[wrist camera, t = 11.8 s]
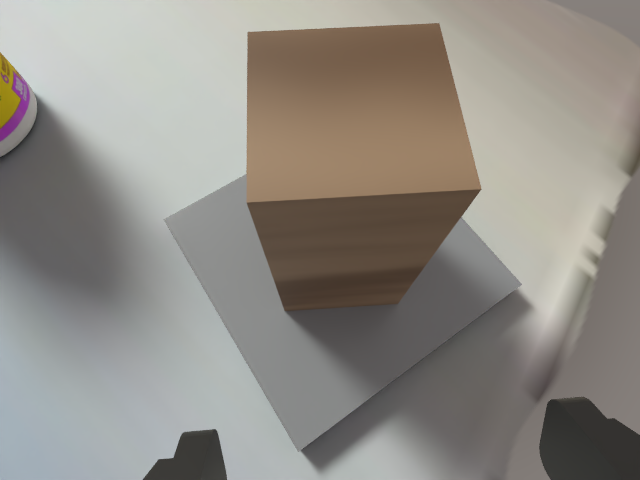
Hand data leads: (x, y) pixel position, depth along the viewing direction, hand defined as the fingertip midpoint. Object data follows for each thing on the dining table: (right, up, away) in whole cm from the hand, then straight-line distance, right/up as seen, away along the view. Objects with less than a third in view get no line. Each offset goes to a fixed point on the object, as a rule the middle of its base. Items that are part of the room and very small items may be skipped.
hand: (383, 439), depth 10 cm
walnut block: (-1, +4, +9) cm, 10 cm away
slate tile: (-1, +4, +10) cm, 11 cm away
